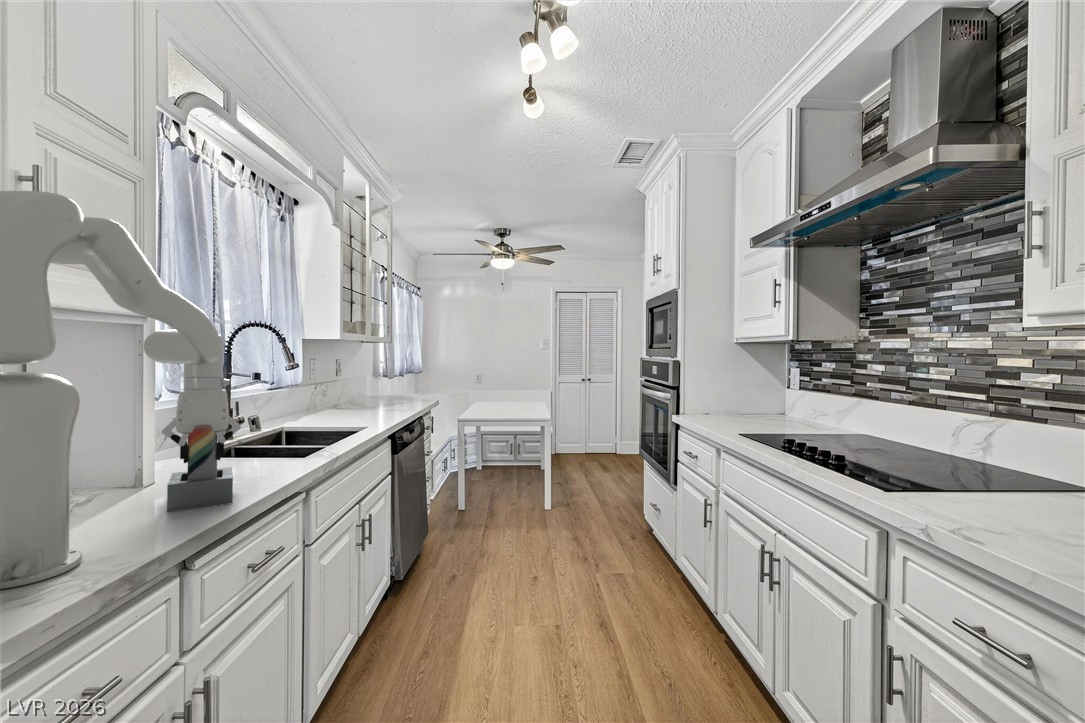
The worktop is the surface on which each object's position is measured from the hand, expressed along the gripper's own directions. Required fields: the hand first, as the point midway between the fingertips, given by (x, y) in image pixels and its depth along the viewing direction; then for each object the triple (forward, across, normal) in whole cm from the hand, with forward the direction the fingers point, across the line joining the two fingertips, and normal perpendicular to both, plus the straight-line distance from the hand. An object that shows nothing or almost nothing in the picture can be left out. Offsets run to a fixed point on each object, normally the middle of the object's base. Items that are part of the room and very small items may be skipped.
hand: (202, 459), depth 112 cm
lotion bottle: (+7, 0, 0) cm, 7 cm away
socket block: (+10, 0, 0) cm, 10 cm away
